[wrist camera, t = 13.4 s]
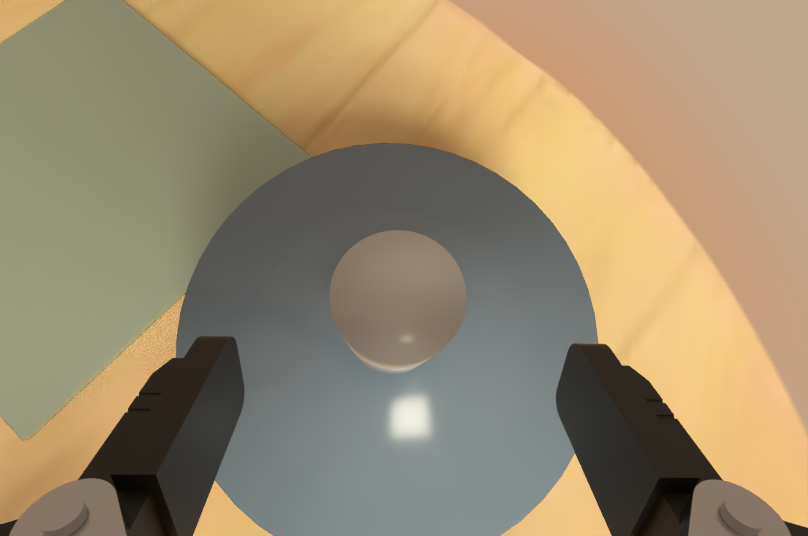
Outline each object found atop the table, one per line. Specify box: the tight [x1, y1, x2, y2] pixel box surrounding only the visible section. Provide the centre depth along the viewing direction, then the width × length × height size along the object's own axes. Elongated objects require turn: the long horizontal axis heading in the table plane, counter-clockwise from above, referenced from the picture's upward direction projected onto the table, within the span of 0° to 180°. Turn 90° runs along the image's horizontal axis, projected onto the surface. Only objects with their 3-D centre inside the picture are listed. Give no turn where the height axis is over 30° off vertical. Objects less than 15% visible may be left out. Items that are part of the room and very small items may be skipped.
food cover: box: [176, 143, 598, 536], centre depth 17 cm, size 16×16×12 cm
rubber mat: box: [0, 0, 312, 440], centre depth 24 cm, size 20×20×1 cm
